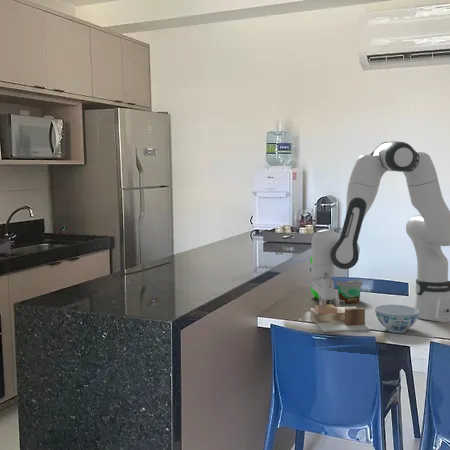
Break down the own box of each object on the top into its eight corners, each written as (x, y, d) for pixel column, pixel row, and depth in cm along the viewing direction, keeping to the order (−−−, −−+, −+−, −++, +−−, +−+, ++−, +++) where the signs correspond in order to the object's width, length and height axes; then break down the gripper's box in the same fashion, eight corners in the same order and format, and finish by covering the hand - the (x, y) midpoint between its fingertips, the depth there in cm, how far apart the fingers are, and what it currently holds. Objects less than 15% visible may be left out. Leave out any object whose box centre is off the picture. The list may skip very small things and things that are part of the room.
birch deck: (355, 316, 215) (355, 306, 215) (363, 322, 206) (363, 312, 206) (310, 318, 213) (310, 308, 213) (316, 324, 205) (316, 313, 204)
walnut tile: (363, 307, 202) (364, 308, 201) (363, 323, 203) (364, 324, 201) (344, 308, 202) (346, 309, 200) (344, 324, 202) (346, 325, 201)
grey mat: (363, 322, 206) (363, 321, 206) (372, 329, 196) (372, 328, 196) (316, 324, 205) (316, 322, 205) (323, 331, 195) (323, 330, 195)
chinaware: (414, 339, 185) (414, 317, 184) (370, 333, 192) (370, 312, 192) (421, 328, 198) (422, 307, 197) (380, 323, 205) (380, 303, 205)
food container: (344, 306, 231) (345, 283, 230) (336, 303, 237) (336, 280, 236) (368, 303, 236) (368, 280, 235) (359, 300, 242) (359, 278, 241)
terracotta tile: (332, 309, 211) (332, 304, 211) (337, 312, 205) (337, 308, 205) (314, 309, 210) (314, 305, 210) (318, 313, 204) (318, 308, 204)
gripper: (338, 275, 201) (338, 312, 202) (323, 266, 221) (323, 300, 222) (322, 276, 200) (321, 313, 202) (308, 266, 221) (308, 300, 222)
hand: (322, 306), depth 212 cm, fingers closed
